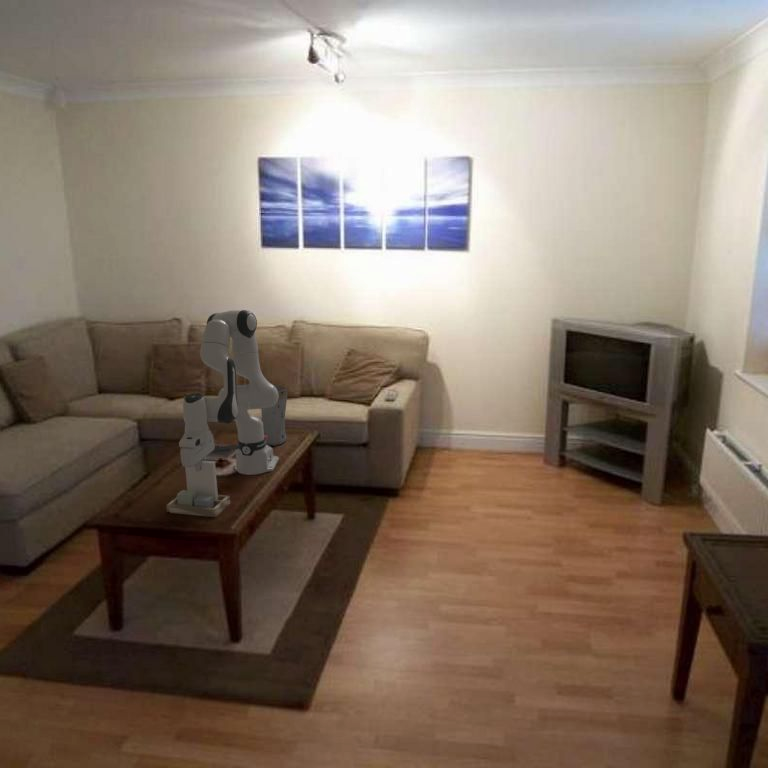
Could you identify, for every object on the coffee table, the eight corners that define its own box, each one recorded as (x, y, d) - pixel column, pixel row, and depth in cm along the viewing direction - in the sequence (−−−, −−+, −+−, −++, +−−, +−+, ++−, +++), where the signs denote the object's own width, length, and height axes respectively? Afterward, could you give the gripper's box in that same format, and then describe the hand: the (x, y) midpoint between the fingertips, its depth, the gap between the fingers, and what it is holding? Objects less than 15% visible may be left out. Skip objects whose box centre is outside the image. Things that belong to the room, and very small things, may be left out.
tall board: (191, 501, 265) (186, 459, 261) (218, 503, 263) (214, 461, 258) (188, 503, 264) (184, 461, 259) (216, 505, 261) (212, 463, 256)
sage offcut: (183, 506, 261) (182, 490, 259) (197, 507, 260) (196, 491, 258) (178, 510, 257) (176, 494, 255) (192, 512, 256) (191, 495, 254)
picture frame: (241, 450, 322) (200, 447, 327) (241, 445, 322) (200, 442, 326) (227, 462, 307) (184, 459, 311) (227, 457, 306) (184, 454, 311)
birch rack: (183, 498, 268) (183, 491, 267) (230, 502, 264) (229, 495, 263) (167, 512, 256) (166, 505, 255) (215, 517, 252) (214, 509, 251)
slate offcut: (200, 508, 260) (198, 495, 258) (214, 509, 258) (213, 496, 257) (195, 512, 256) (193, 499, 254) (209, 514, 254) (208, 500, 253)
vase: (286, 447, 324) (284, 391, 317) (258, 446, 325) (256, 391, 317) (290, 438, 337) (289, 384, 330) (263, 437, 337) (261, 384, 330)
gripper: (202, 426, 266) (205, 459, 270) (176, 444, 247) (179, 478, 251) (217, 427, 265) (220, 460, 268) (191, 445, 246) (195, 480, 249)
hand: (200, 469), depth 259 cm, fingers closed on tall board, 2 cm apart
